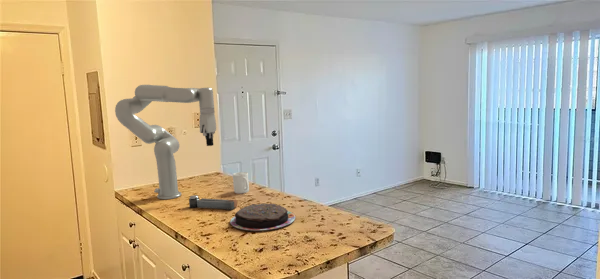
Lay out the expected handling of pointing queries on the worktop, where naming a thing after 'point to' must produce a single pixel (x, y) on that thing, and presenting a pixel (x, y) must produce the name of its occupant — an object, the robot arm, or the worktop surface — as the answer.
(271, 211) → the chocolate cake
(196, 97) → the robot arm
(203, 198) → the tong arm
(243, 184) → the cup
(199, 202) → the base
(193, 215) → the worktop surface
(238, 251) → the worktop surface
